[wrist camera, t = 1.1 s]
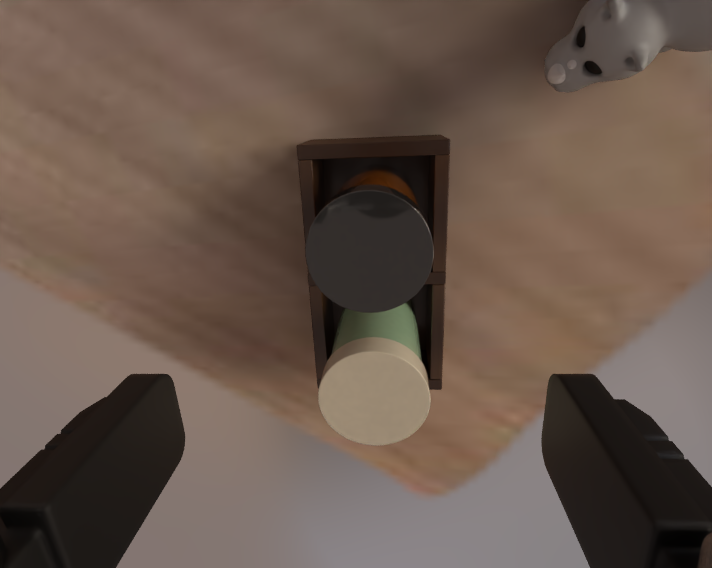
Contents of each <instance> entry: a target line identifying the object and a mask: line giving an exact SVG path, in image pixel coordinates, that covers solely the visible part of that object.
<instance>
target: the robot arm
mask: <svg viewBox="0 0 712 568" xmlns="http://www.w3.org/2000/svg"><path fill="white" fill-rule="evenodd" d="M184 446H185V432H184V427H183V423H182V418H181V414H180V409H179V405H178V400H177V396H176V391H175V387H174V383H173V380H172V378H171V377H170V376H169V375H168V374H131V375H129V376H128V377H127V378H126V379H125V380H123V382H121V384H119V385H118V386H117V387H116V389H115V390H113V391H112V393H110V395H108V396H107V397H104V398H103V399H101V400H99V401H98V402H96V403H94V404H93V405H91V406H90V407H88V408H86V409H85V410H83V411H81V412H80V413H79V414H78V415H77V416H76V417H75V418H73V420H71V421H70V422H69V423H68V424H67V425H66V426H65V427H64V428H63V429H62V430H61V434H57V435H56V436H55V437H54V438H53V439H52V440H51V441H50V442H48V444H46V445H45V449H44V450H40V451H39V452H38V453H37V454H36V455H35V456H34V457H33V458H32V459H31V460H30V461H29V462H28V463H27V464H26V465H25V466H23V467H22V468H21V469H20V470H19V471H18V472H17V473H16V474H15V475H14V476H13V477H12V478H11V479H10V480H9V481H8V482H7V483H6V484H5V485H4V486H3V487H2V488H1V489H0V568H116V567H117V565H118V563H119V561H120V560H121V558H122V557H123V554H124V553H125V552H126V550H127V548H128V547H129V545H130V543H131V542H132V540H133V538H134V537H135V535H136V533H137V532H138V530H139V528H140V527H141V525H142V523H143V522H144V520H145V518H146V517H147V515H148V513H149V512H150V510H151V509H152V507H153V505H154V504H155V502H156V500H157V499H158V497H159V495H160V494H161V492H162V490H163V489H164V487H165V485H166V484H167V482H168V480H169V479H170V477H171V476H172V474H173V472H174V471H175V469H176V467H177V465H178V464H179V462H180V460H181V457H182V455H183V451H184ZM542 453H543V458H544V462H545V466H546V469H547V471H548V473H549V476H550V478H551V480H552V482H553V485H554V487H555V489H556V491H557V494H558V496H559V498H560V500H561V503H562V505H563V507H564V509H565V512H566V514H567V516H568V518H569V521H570V523H571V525H572V528H573V530H574V532H575V534H576V537H577V539H578V541H579V543H580V546H581V548H582V550H583V552H584V555H585V557H586V559H587V561H588V564H589V566H590V568H712V487H711V486H710V485H709V484H708V482H707V481H706V480H705V479H704V478H703V477H702V476H701V474H700V473H699V472H698V471H697V470H696V469H695V467H694V466H693V465H692V464H691V463H690V462H689V460H687V459H684V455H683V453H682V452H681V451H680V450H679V449H678V448H677V447H676V445H675V444H674V443H673V442H672V441H669V440H668V436H667V435H666V434H665V433H664V432H663V430H662V429H661V428H660V427H659V426H658V425H657V423H656V422H655V421H654V420H653V419H652V418H651V417H650V416H649V415H647V414H646V413H644V412H643V411H641V410H640V409H638V408H637V407H635V406H634V405H632V404H631V403H629V402H628V401H626V400H619V399H617V400H616V399H613V397H612V396H611V395H610V393H609V392H608V391H607V390H606V389H605V387H604V386H603V385H602V383H601V382H600V381H599V380H598V378H597V377H596V376H595V375H593V374H553V375H551V377H550V379H549V382H548V389H547V397H546V405H545V413H544V421H543V429H542Z"/></svg>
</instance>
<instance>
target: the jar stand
mask: <svg viewBox="0 0 712 568" xmlns="http://www.w3.org/2000/svg"><path fill="white" fill-rule="evenodd" d="M449 154H450V139H448V138H446V137H444V136H442V135H421V136H396V137H371V138H346V139H321V140H310V141H307V142H304V143H302V144H299V145H297V155H298V160H299V161H298V165H299V176H300V188H301V200H302V211H303V223H304V234H305V246H306V239H307V235H308V231H309V229H310V226H311V224H312V222H313V221H314V219H315V217H316V216H317V214H318V213H319V211H320V210H321V209H322V208H323V206H324V205H325V204H326V203H327V202H328V201H329V200H330V199H331V198H332V197H334V196H335V195H336V193H337V192H338V190H339V189H340V187H341V185H342V184H343V182H344V181H345V180H346V178H347V177H348V176H349V175H350V174H351V173H353V172H354V171H355V170H357V169H359V168H361V167H363V166H367V165H372V164H381V165H387V166H390V167H392V168H395V169H396V170H398V171H400V172H401V173H402V174H403V175H404V176H405V177H406V178H407V179H408V180H409V182H410V183H411V185H412V187H413V190H414V193H415V196H416V200H417V203H418V207H419V209H420V210H421V212H422V213H423V215H424V217H425V219H426V221H427V223H428V226H429V229H430V232H431V235H432V239H433V245H434V258H433V264H432V269H431V272H430V274H429V277H428V279H427V280H426V282H425V284H424V285H423V287H422V288H421V289H420V291H419V292H418V293H417V294H416V295H415V296H414V297H413V299H414V303H415V309H416V317H417V326H418V334H419V342H420V350H421V358H422V363H423V365H424V367H425V369H426V372H427V376H428V382H429V389H435V390H441V389H442V365H443V335H444V305H445V278H446V272H445V271H446V247H447V218H448V188H449V158H450V156H449ZM307 269H308V266H307ZM308 282H309V292H310V304H311V315H312V327H313V338H314V350H315V361H316V373H317V384H318V389H319V385H320V381H321V378H322V374H323V370H324V367H325V365H326V363H327V361H328V359H329V358H330V356H331V353H332V349H333V344H334V340H335V336H336V332H337V328H338V324H339V320H340V315H341V311H342V306H340V305H338V304H336V303H335V302H333V301H332V300H330V299H329V298H328V297H327V296H325V295H324V294H323V293H322V292H321V290H320V289H319V288H318V287H317V285H316V284H315V282H314V281H313V279H312V277H311V275H310V272H309V270H308Z"/></svg>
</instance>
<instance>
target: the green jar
mask: <svg viewBox="0 0 712 568" xmlns="http://www.w3.org/2000/svg"><path fill="white" fill-rule="evenodd" d="M318 402H319V407H320V410H321V413H322V415H323V417H324V419H325V420H326V422H327V423H328V424H329V425H330V426H331V428H332V429H334V430H335V431H336V432H337V433H338V434H340V435H341V436H343V437H345V438H347V439H349V440H351V441H354V442H357V443H360V444H365V445H387V444H392V443H396V442H399V441H401V440H403V439H405V438H407V437H409V436H410V435H412V434H413V433H414V432H416V431H417V430H418V429H419V428H420V426H421V425H422V424H423V422H424V421H425V419H426V417H427V415H428V412H429V409H430V402H431V399H430V389H429V382H428V376H427V372H426V369H425V367H424V365H423V363H422V358H421V350H420V342H419V334H418V326H417V317H416V309H415V303H414V299H413V298H411V299H410V300H409V301H407V302H406V303H404V304H402V305H401V306H398V307H396V308H394V309H391V310H388V311H383V312H377V313H363V312H357V311H353V310H350V309H347V308H344V307H342V311H341V315H340V320H339V324H338V328H337V332H336V336H335V340H334V344H333V349H332V353H331V356H330V358H329V359H328V361H327V363H326V365H325V367H324V370H323V374H322V378H321V381H320V385H319V390H318Z"/></svg>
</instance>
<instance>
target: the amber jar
mask: <svg viewBox="0 0 712 568" xmlns="http://www.w3.org/2000/svg"><path fill="white" fill-rule="evenodd" d="M305 256H306V262H307V266H308V270H309V272H310V275H311V277H312V279H313V281H314V282H315V284H316V285H317V287H318V288H319V289H320V290H321V292H322V293H323V294H324V295H325V296H327V297H328V298H329V299H330V300H332V301H333V302H335V303H336V304H338V305H340V306H342V307H344V308H347V309H350V310H353V311H357V312H363V313H377V312H383V311H388V310H391V309H394V308H396V307H398V306H401V305H402V304H404V303H406V302H407V301H409V300H410V299H411V298H413V297H414V296H415V295H416V294H417V293H418V292H419V291H420V289H421V288H422V287H423V285H424V284H425V282H426V280H427V279H428V277H429V274H430V272H431V269H432V264H433V258H434V245H433V239H432V235H431V232H430V229H429V226H428V223H427V221H426V219H425V217H424V215H423V213H422V212H421V210H420V209H419V207H418V203H417V200H416V196H415V193H414V190H413V187H412V185H411V183H410V182H409V180H408V179H407V178H406V177H405V176H404V175H403V174H402V173H401V172H400V171H398V170H396V169H395V168H392V167H390V166H387V165H381V164H372V165H367V166H363V167H361V168H359V169H357V170H355V171H354V172H353V173H351V174H350V175H349V176H348V177H347V178H346V180H345V181H344V182H343V184H342V185H341V187H340V189H339V190H338V192H337V193H336V195H335V196H334V197H332V198H331V199H330V200H329V201H328V202H327V203H326V204H325V205H324V206H323V208H322V209H321V210H320V211H319V213H318V214H317V216H316V217H315V219H314V221H313V222H312V224H311V226H310V229H309V231H308V235H307V239H306V246H305Z"/></svg>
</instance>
